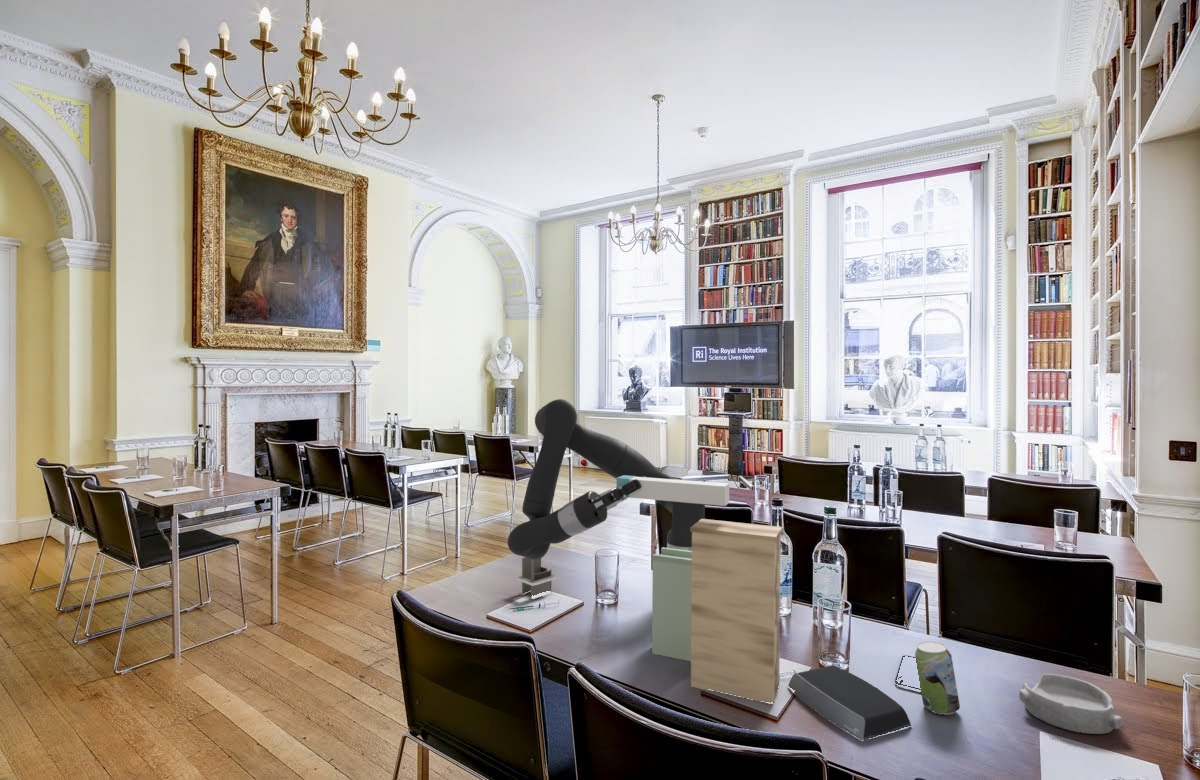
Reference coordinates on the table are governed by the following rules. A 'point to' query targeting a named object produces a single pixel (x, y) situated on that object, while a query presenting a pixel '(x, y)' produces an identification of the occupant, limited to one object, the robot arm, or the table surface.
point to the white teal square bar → (678, 490)
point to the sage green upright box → (672, 603)
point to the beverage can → (937, 678)
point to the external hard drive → (849, 702)
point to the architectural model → (535, 576)
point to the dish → (1071, 704)
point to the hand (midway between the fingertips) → (642, 481)
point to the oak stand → (736, 608)
